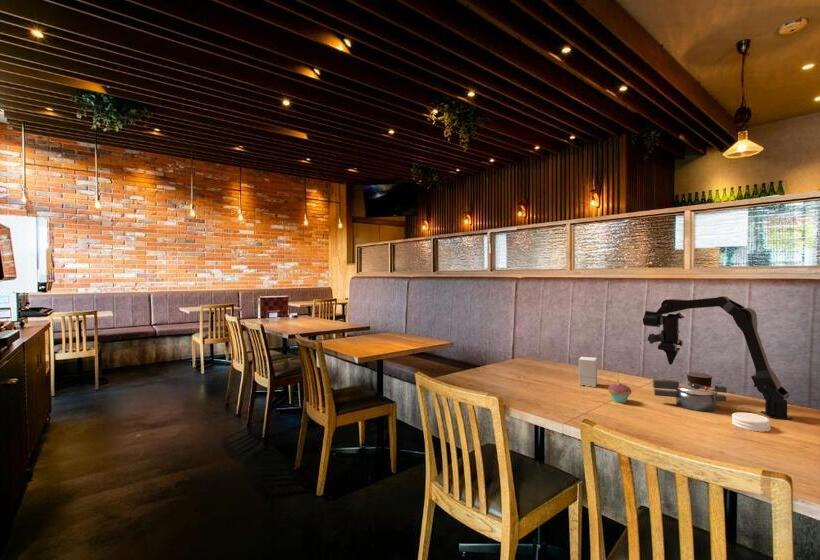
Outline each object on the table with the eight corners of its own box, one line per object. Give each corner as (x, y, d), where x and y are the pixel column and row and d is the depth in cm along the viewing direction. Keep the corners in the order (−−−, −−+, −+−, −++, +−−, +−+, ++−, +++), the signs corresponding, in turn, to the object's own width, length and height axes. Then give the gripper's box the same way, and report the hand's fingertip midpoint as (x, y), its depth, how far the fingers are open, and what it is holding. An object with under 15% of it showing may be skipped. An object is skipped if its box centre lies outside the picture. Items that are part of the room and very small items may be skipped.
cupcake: (625, 405, 160) (625, 375, 160) (604, 400, 166) (604, 371, 166) (634, 401, 165) (634, 372, 165) (613, 396, 172) (613, 368, 172)
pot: (719, 404, 161) (719, 389, 161) (731, 414, 149) (731, 398, 149) (651, 397, 169) (651, 383, 169) (657, 407, 157) (657, 392, 157)
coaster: (756, 434, 131) (756, 423, 131) (724, 423, 140) (724, 413, 140) (777, 430, 134) (777, 420, 134) (745, 420, 143) (745, 410, 143)
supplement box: (597, 384, 192) (597, 357, 192) (595, 387, 186) (595, 360, 186) (581, 382, 196) (581, 356, 196) (578, 385, 190) (578, 358, 189)
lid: (718, 387, 162) (718, 380, 162) (733, 397, 149) (733, 389, 149) (649, 383, 169) (649, 376, 169) (658, 392, 156) (658, 384, 156)
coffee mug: (712, 403, 162) (712, 378, 162) (686, 399, 167) (686, 375, 167) (712, 396, 171) (712, 372, 171) (687, 393, 176) (687, 370, 176)
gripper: (654, 324, 186) (654, 358, 186) (644, 328, 172) (644, 365, 172) (683, 326, 178) (683, 361, 179) (674, 331, 165) (674, 369, 165)
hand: (670, 364), depth 174 cm, fingers closed
